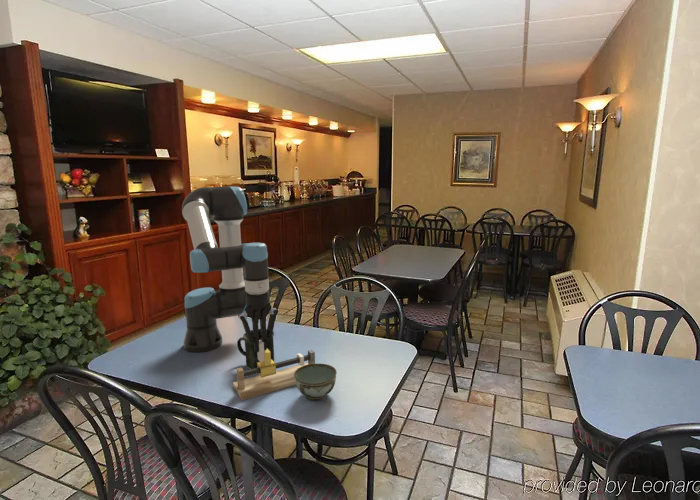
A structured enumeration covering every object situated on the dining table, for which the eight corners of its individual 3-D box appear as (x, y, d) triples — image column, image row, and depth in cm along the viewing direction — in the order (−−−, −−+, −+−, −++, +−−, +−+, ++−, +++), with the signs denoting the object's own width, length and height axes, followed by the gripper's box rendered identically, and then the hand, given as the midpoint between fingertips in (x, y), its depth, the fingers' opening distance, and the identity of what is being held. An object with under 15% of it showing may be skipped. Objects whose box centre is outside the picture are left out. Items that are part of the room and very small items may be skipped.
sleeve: (257, 373, 141) (256, 350, 140) (272, 369, 144) (270, 346, 142) (261, 377, 138) (260, 354, 137) (276, 373, 141) (274, 351, 139)
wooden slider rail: (233, 386, 141) (231, 364, 139) (309, 365, 155) (308, 345, 153) (242, 400, 132) (240, 376, 131) (321, 377, 146) (320, 355, 145)
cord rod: (242, 375, 137) (241, 371, 137) (308, 358, 149) (308, 354, 149) (243, 377, 136) (243, 373, 136) (310, 359, 148) (310, 355, 148)
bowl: (342, 403, 130) (341, 379, 128) (299, 410, 126) (298, 386, 125) (331, 382, 143) (330, 360, 141) (292, 388, 139) (291, 366, 138)
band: (297, 362, 148) (296, 353, 148) (300, 361, 149) (300, 353, 148) (301, 365, 145) (300, 357, 145) (304, 365, 146) (303, 356, 145)
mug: (267, 373, 150) (265, 341, 148) (231, 368, 154) (229, 337, 152) (280, 359, 160) (279, 330, 158) (246, 355, 164) (244, 326, 162)
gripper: (240, 297, 128) (245, 369, 133) (280, 291, 135) (283, 359, 139) (233, 291, 135) (238, 360, 139) (272, 285, 141) (275, 351, 145)
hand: (261, 360), depth 139 cm, fingers closed
